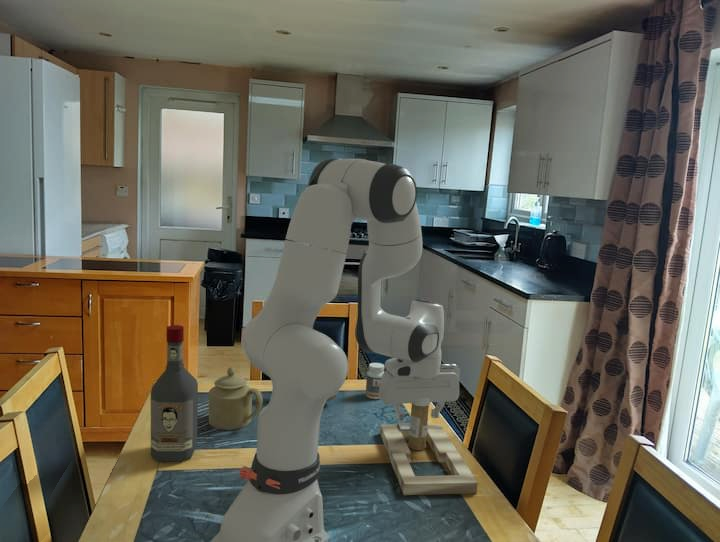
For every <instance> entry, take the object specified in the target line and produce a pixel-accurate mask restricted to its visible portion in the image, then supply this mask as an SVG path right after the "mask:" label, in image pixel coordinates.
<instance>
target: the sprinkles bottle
mask: <svg viewBox="0 0 720 542" xmlns="http://www.w3.org/2000/svg"><path fill="white" fill-rule="evenodd" d="M410 404H411V410H410V418H409V423H410V430H409V434H410V435H409V441H408V444H407V446H408V448H409V449H412V450H414V451H422V450H425V449H426V447H427V440H426V435H427V424H428V422H429V421H428V420H429V409H430V408H429V407H430V404H431V402H429V399H428V398H423V399H418V402H417V403H410Z"/></svg>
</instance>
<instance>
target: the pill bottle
mask: <svg viewBox="0 0 720 542" xmlns="http://www.w3.org/2000/svg"><path fill="white" fill-rule="evenodd" d="M384 372H385V364H384V363H381V362H371V363H369V364H368V371H367V372H366V383H365V384H366V385H365V396H366V397H367V398H368V399H371V400H373V399H374V400H381V399H380V398H379V387H380V381H381V377H382V374H383V373H384Z"/></svg>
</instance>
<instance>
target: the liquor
mask: <svg viewBox="0 0 720 542" xmlns="http://www.w3.org/2000/svg"><path fill="white" fill-rule="evenodd" d="M184 329H185V328H184V326H183V325H178V324H175V325H168V326H166V342H167V343H166V345H167V346H166V347H167V348H166V349H167V350H166V366H165V370H164V371H163V372H162V373H161V375H160V376H159V377H158V378H157V380H156V381H155V383H154V384H152V387H151V389H150V456H151V457H152V459H153V460H154V459H155V461H156V462H157V461H158V462H157V463H159V462H174V464H176V463H175V462H181V463H184V462H186V461H189V460H190V459H192V457H193V455H194V452H195V450H196V447H197V446H198V409H199V407H198V401H199V398H198V397H199V396H198V395H199V394H198V393H199V386H198V385H199V383H198V380H197V378H196V377H194V376H193V375H192V373H190V371H188V369H186V368H185V363H184V359H183V358H184V357H183V356H184V355H183V354H184V352H183V351H184V350H183V349H184V348H183V347H184V346H183V344H184V340H185V339H184V338H185V337H184V333H185V332H184V331H185V330H184ZM183 461H184V462H183Z"/></svg>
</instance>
